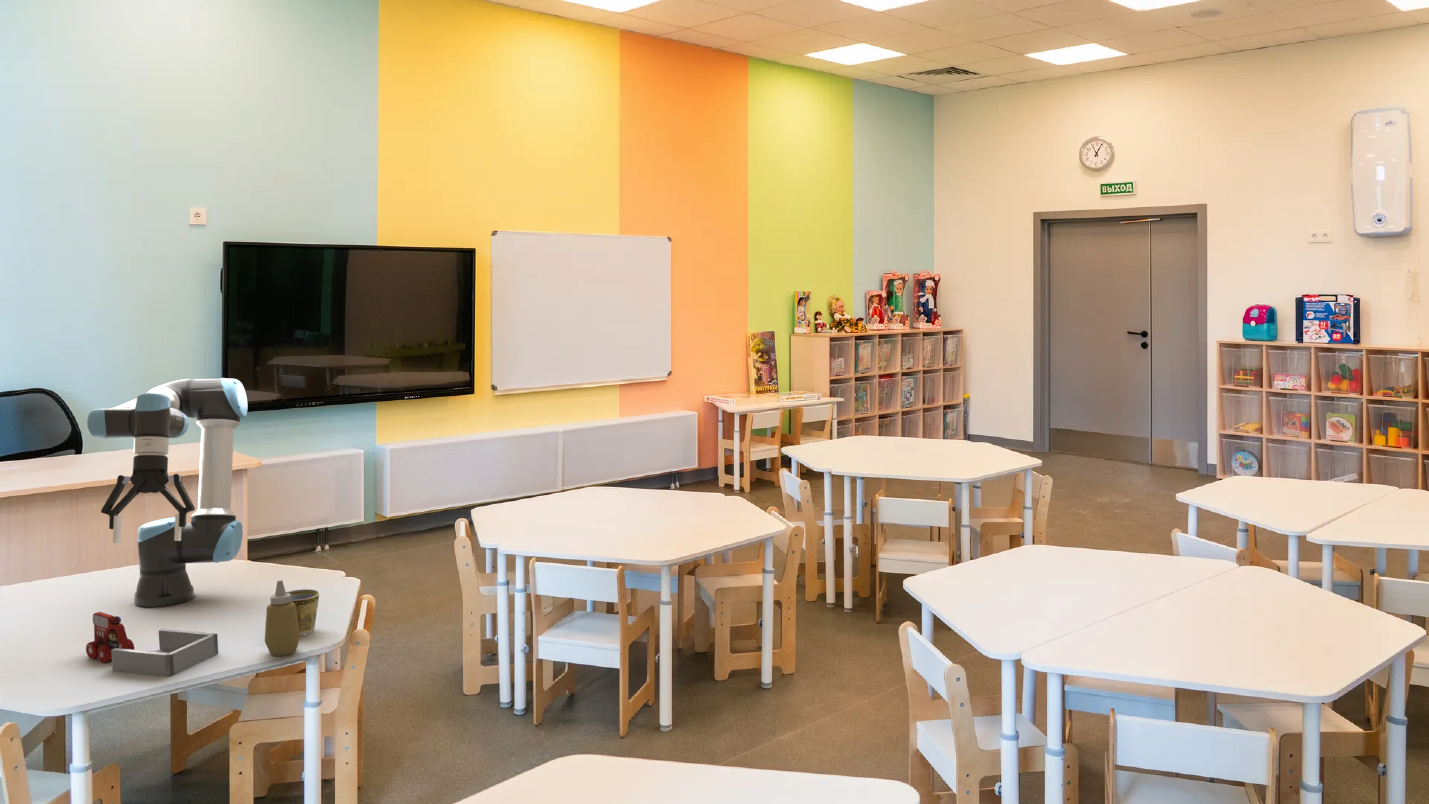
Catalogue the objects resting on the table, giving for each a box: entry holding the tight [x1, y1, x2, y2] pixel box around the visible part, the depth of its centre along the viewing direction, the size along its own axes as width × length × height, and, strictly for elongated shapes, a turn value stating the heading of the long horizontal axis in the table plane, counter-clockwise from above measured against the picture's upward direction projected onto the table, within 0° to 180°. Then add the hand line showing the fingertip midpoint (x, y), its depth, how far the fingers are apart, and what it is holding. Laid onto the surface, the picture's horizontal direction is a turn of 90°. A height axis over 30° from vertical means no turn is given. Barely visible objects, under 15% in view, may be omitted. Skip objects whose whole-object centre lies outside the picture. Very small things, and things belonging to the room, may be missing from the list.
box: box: [111, 628, 219, 678], centre depth 238 cm, size 16×15×5 cm
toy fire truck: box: [85, 611, 135, 664], centre depth 241 cm, size 7×12×10 cm, turn 59°
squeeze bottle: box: [264, 579, 301, 657], centre depth 243 cm, size 8×8×18 cm
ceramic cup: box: [286, 588, 320, 636], centre depth 260 cm, size 13×10×10 cm
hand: (147, 542), depth 244 cm, fingers open, 13 cm apart
